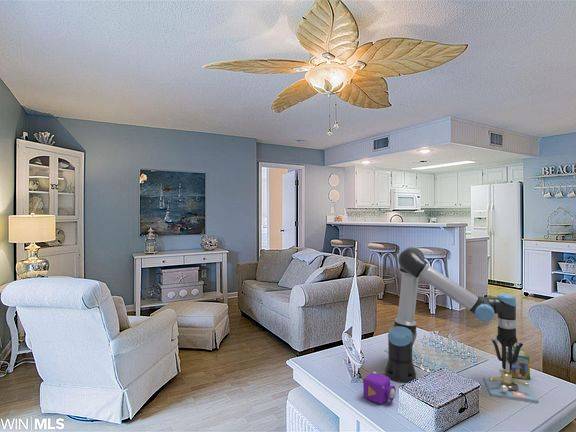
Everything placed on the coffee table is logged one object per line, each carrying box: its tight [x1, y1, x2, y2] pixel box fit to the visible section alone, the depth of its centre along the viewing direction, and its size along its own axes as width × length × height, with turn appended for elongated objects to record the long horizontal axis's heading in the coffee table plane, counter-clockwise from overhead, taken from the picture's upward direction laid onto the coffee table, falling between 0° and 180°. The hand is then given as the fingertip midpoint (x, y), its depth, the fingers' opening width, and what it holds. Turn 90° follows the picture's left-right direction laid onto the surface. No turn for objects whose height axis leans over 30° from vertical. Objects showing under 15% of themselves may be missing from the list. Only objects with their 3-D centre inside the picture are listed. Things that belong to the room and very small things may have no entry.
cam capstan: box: [489, 368, 530, 392], centre depth 157 cm, size 16×17×6 cm
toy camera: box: [362, 371, 397, 405], centre depth 150 cm, size 11×14×10 cm
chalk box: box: [506, 344, 531, 380], centre depth 172 cm, size 9×9×15 cm
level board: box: [482, 376, 540, 404], centre depth 157 cm, size 18×17×2 cm
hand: (507, 375), depth 162 cm, fingers closed
